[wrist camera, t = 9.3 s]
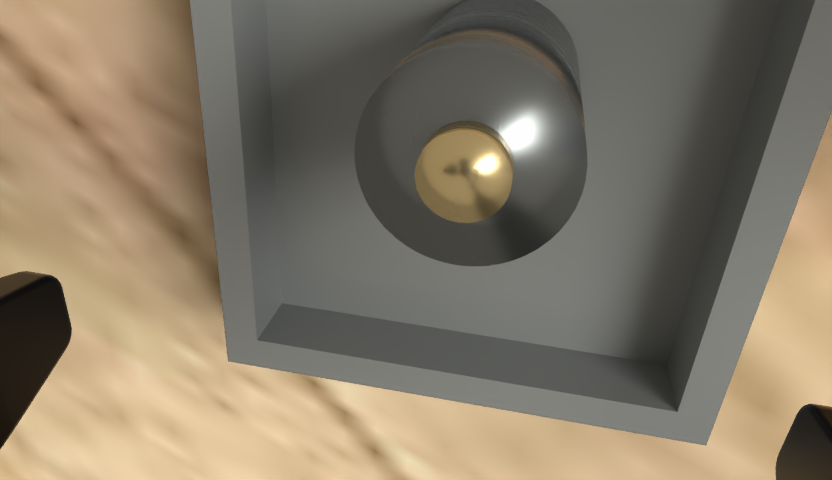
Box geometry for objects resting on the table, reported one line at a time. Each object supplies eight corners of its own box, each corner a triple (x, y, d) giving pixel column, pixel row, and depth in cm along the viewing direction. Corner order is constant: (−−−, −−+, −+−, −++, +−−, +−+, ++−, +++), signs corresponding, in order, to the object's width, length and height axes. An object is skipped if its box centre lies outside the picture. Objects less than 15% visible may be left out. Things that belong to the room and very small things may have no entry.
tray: (942, -391, 12) (1047, -466, 9) (687, 374, 21) (706, 445, 18) (218, -395, 14) (140, -458, 11) (265, 306, 23) (228, 361, 20)
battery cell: (592, -1, 15) (611, 69, 9) (564, 160, 17) (566, 299, 11) (422, -15, 16) (344, 42, 10) (414, 142, 18) (344, 265, 12)
